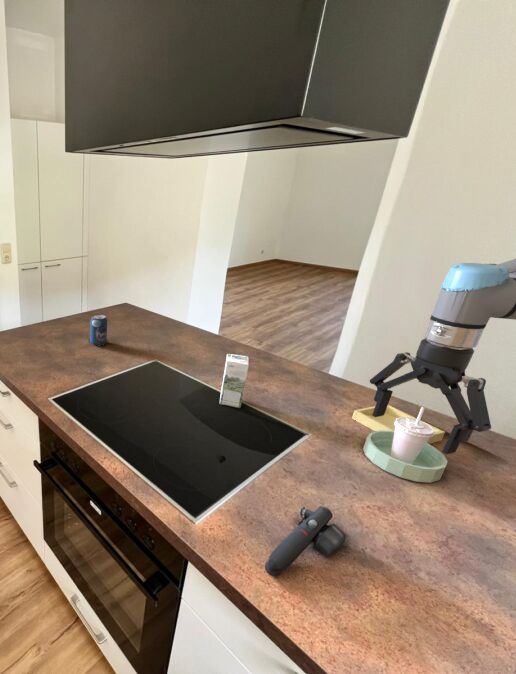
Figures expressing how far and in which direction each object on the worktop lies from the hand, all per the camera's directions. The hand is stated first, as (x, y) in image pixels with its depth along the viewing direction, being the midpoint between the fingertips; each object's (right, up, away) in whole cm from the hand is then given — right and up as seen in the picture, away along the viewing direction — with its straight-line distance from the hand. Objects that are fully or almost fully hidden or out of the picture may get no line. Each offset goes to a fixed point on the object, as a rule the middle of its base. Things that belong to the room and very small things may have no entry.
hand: (410, 432), depth 79 cm
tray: (+10, -3, +14) cm, 18 cm away
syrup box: (-27, +1, +28) cm, 39 cm away
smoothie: (0, -7, +3) cm, 8 cm away
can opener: (-36, -16, -17) cm, 43 cm away
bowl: (0, -8, +3) cm, 8 cm away
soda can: (-62, +18, +72) cm, 97 cm away
